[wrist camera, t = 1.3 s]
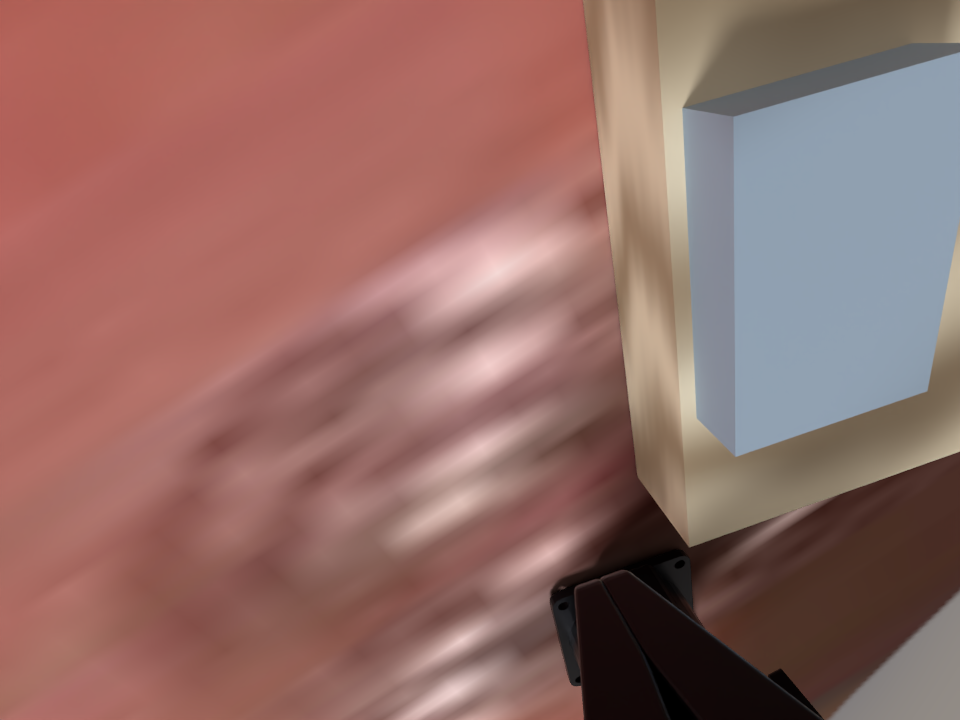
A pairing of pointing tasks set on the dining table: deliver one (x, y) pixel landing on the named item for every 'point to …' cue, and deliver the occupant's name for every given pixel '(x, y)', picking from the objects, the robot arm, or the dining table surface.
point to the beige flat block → (665, 249)
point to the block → (821, 241)
